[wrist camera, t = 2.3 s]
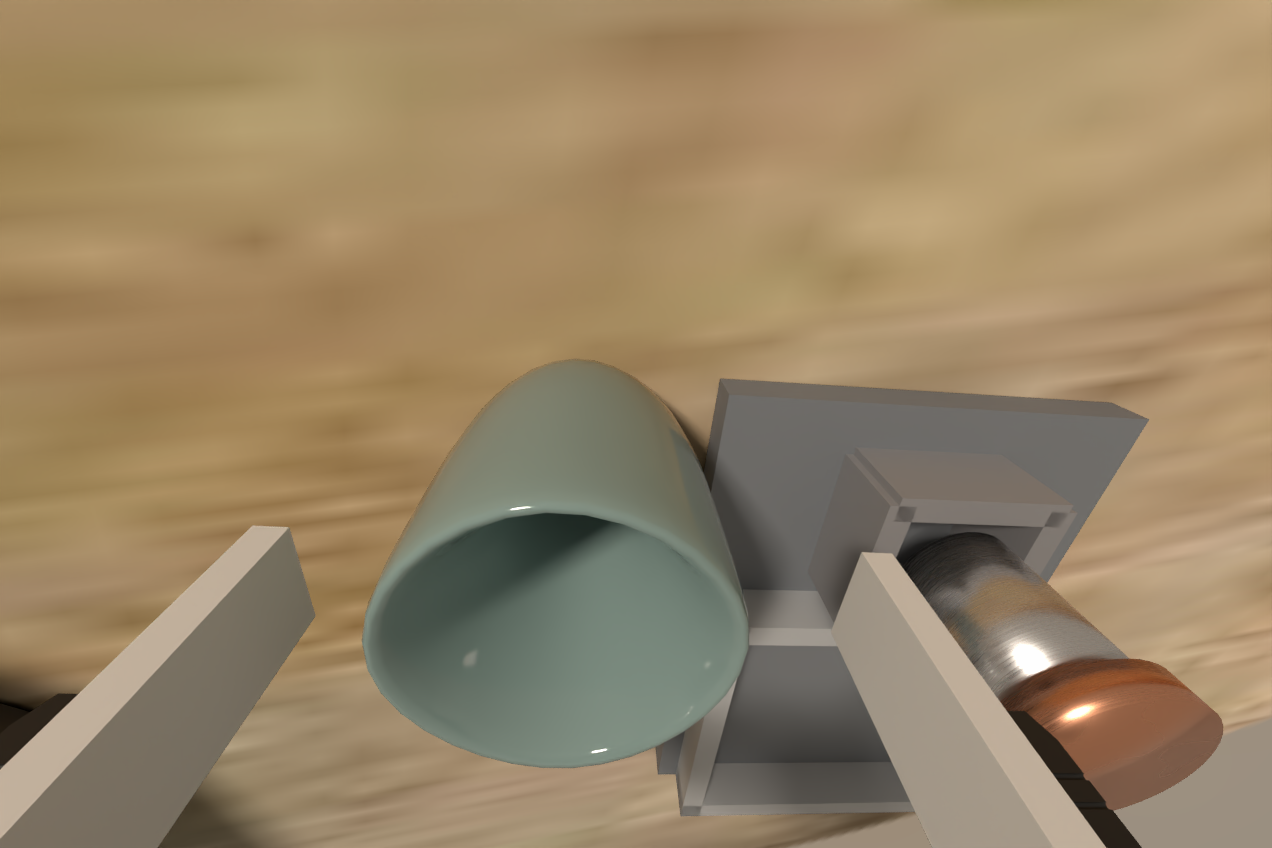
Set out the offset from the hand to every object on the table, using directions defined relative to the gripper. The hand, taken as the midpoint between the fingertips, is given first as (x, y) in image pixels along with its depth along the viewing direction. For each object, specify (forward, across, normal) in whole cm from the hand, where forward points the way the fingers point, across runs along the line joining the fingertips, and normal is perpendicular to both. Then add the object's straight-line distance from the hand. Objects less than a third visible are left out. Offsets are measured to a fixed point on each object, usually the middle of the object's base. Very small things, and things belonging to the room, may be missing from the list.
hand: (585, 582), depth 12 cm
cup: (+8, +1, 0) cm, 8 cm away
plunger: (+3, -13, +3) cm, 13 cm away
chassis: (+8, -12, +9) cm, 17 cm away
